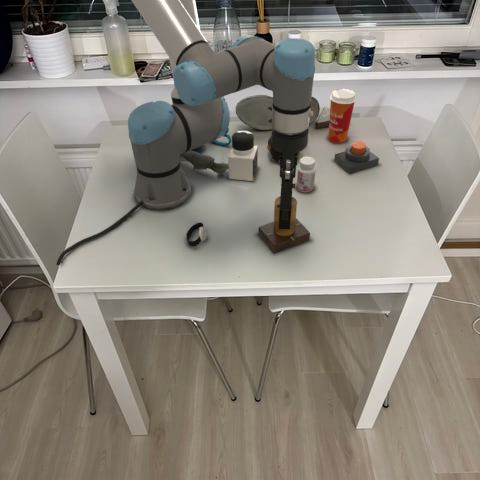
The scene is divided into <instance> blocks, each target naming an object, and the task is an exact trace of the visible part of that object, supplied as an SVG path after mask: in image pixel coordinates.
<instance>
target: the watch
mask: <svg viewBox="0 0 480 480" xmlns="http://www.w3.org/2000/svg"><path fill="white" fill-rule="evenodd" d="M196 230H199V231H198V237H197V238H196V239H195V240H190V239H191V237H192V234H193V233H194V232H195V231H196ZM185 235H186V236H185V239H186V241H187V243H188V245H189V246H190V247H197V246H199V245H200V244H201V243H202V241H206V239H207V233H206V229H205V226H204V222H196V223H194V224H193V225H191V226H190V227H189V229H188V230H187V232H186V234H185Z"/></svg>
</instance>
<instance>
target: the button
mask: <svg viewBox="0 0 480 480" xmlns="http://www.w3.org/2000/svg"><path fill="white" fill-rule="evenodd" d="M351 145H352V147H351V152H352V153H353V154H357V155H361V154H364V153H365V149H366V147H367V144H366V142H363V141H354V142H352V143H351Z"/></svg>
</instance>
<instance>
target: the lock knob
mask: <svg viewBox="0 0 480 480" xmlns="http://www.w3.org/2000/svg"><path fill="white" fill-rule="evenodd" d="M280 200H281V195H280V196H277V197H276V198H275V199H274V206H273V207H274V209H273V222H274V232H275V233H276V234H277V235H280V236H289V235H291V234H293V233H294V231H295V222H296V218H297V208H298V201H297V198H295V197H294V196H292V202H291V204H292V209H291V222H290V229H278V228H279V208H277V204H280Z"/></svg>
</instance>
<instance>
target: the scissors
mask: <svg viewBox="0 0 480 480" xmlns="http://www.w3.org/2000/svg"><path fill="white" fill-rule="evenodd" d="M229 131H230V129H229V127H228V130H227V131H226V133H225V135H224V136H222V137H224V138H226V139H227V140H228V142H221V141H218V139H216V140H215V141H214V142H212V144H215V145H217V146H229V145H230V144H232V136H230V134H229ZM222 137H221V138H222Z"/></svg>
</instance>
